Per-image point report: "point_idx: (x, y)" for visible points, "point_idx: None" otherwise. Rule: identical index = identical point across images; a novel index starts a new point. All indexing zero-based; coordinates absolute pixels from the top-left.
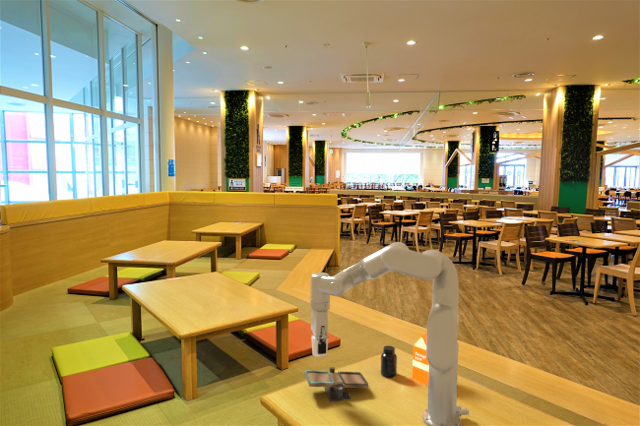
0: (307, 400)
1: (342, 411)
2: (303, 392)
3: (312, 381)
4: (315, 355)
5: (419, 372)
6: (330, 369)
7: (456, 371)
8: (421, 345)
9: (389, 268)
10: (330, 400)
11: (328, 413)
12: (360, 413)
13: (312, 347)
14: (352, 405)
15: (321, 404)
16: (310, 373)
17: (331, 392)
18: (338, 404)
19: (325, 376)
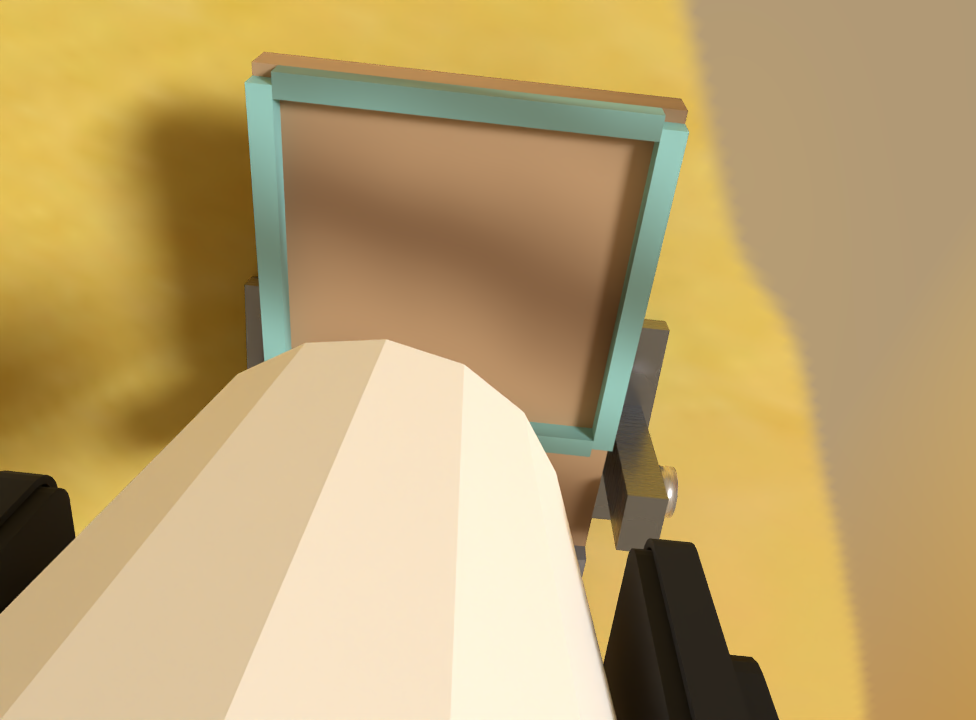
0: (335, 22)
1: (56, 325)
2: (534, 27)
3: (339, 143)
4: (232, 382)
5: None
6: (626, 495)
7: None
8: None
9: None
10: (251, 280)
11: (32, 178)
12: (10, 458)
13: (297, 441)
14: (148, 445)
15: (216, 162)
16: (607, 194)
17: None
18: (186, 333)
19: (497, 377)
